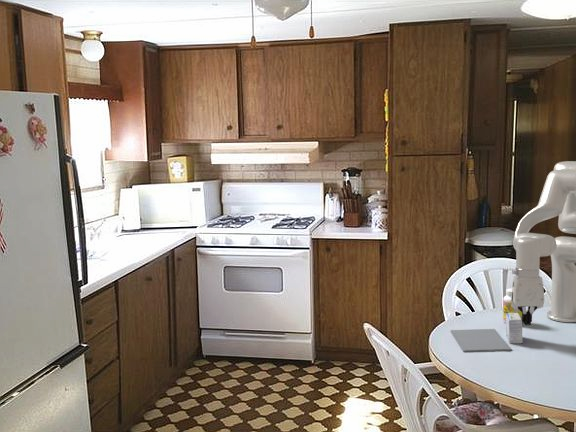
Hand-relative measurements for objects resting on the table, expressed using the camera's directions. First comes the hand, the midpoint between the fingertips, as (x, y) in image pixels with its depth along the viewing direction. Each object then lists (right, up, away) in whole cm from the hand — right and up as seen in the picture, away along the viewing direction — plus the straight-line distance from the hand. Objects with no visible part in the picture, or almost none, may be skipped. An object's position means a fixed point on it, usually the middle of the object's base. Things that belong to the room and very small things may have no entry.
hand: (526, 323), depth 215 cm
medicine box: (-4, -6, +1) cm, 7 cm away
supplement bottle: (+2, -3, +19) cm, 19 cm away
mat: (-16, -6, +2) cm, 17 cm away
